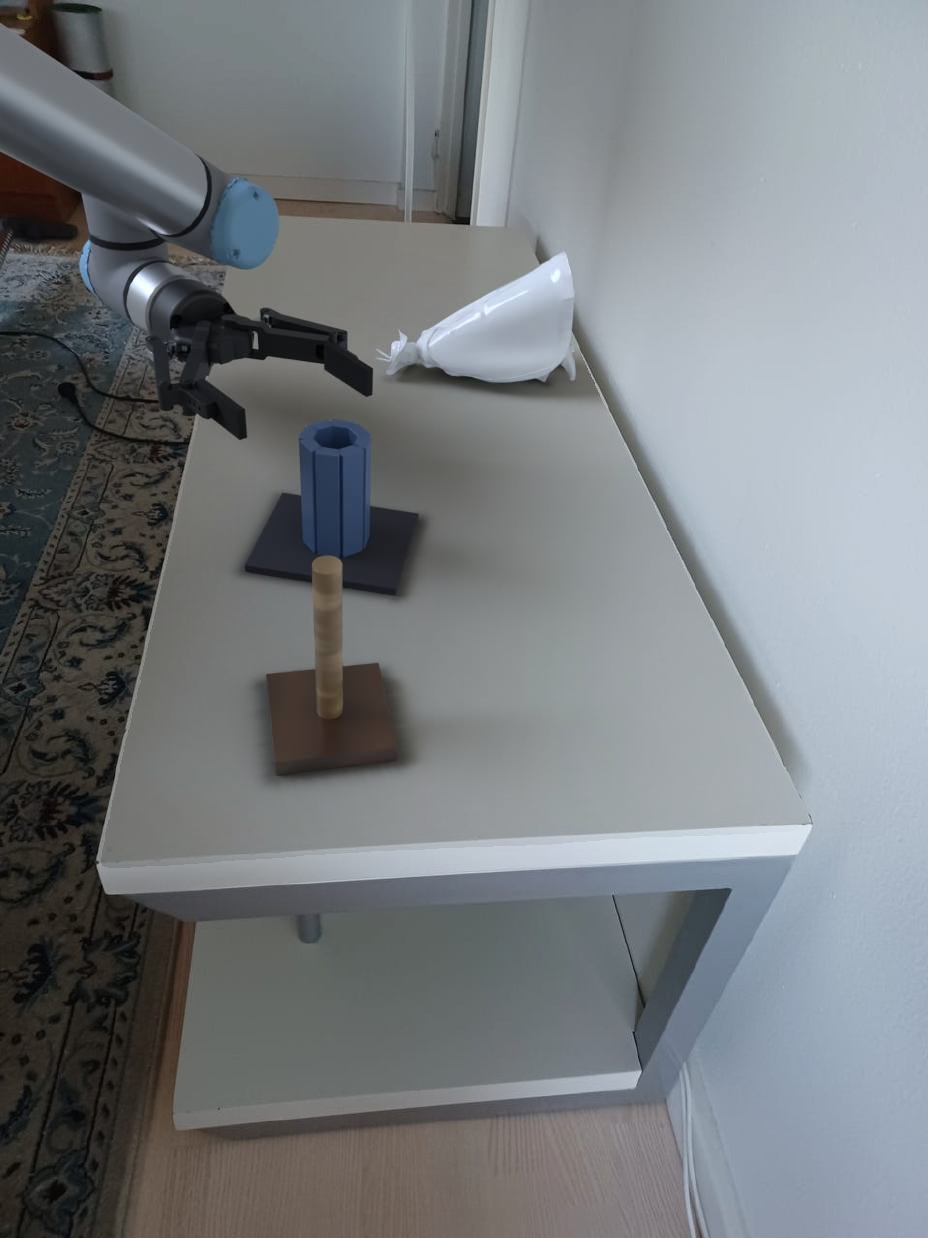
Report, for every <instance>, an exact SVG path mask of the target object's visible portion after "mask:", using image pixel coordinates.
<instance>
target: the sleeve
mask: <svg viewBox="0 0 928 1238" xmlns="http://www.w3.org/2000/svg"><path fill="white" fill-rule="evenodd" d="M371 435H372V434H371V433H370V432H369V431H367V430H366V429H365V428H364V427H363V426H362V425H361V424H359V423H356V422H355V421H349V420H344V419H343V420H342V419H335V418H332V419H331V420H330V419H328V418H327V419H323V420H319V421H316V422H312V423H309V424H307V426H304V428H303V429H302V432H301V433H300V435H299V437H298V452H299V453H298V455H299V477H300V479H299V480H300V495H301V506H302V531H303V542H304V543H305V544H306V545H307V546H308V547H309V548H310V549H311V550H312V551H313V552H314V553H316V552H318V555H323V556H325V555H329V556H334V557H337V558H340V555H341V556H342V557H343V558H344V557H347V556H350V555H352V554H355V553H358V552H361V551H362V549H365V547H366V544H367V541H368V539H369V533H370V506H371V485H372V484H371V483H372V482H371V479H372V439H373V437H372V436H371Z"/></svg>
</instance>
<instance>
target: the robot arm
mask: <svg viewBox="0 0 928 1238" xmlns="http://www.w3.org/2000/svg"><path fill="white" fill-rule="evenodd" d="M0 152H1V153H2V154H5V155H6V156H9V157H10V158H13V160H16V161H18V162H20V163H22V164H24V165H26V166H28V167H29V168H32V169H34V170H35V171H38V172H39V173H41V174H43V175H45V176H47V177H50V178H51V179H53V180H54V181H57V182H59V183H61V184H63V185H64V186H66V187H69V188H70V189H73V190H75V191H76V192H79V193H81V199H82V203H83V208H84V213H85V218H86V222H87V227H88V230H87V231H88V240H86V242H85V244H84V245H83V247H82V251H81V255H80V259H79V263H78V265H79V271H80V276H81V279H82V281H83V284H85V286H86V288H87V289H88V290H89V291H90V293H92V294H93V295H95V296H96V298H97V299H98V300H99V301H100V302H101V304H103V305H104V307H106V308H107V309H109V310H111V311H112V312H114V313H116V314H118V315H119V316H120V317H122V318H123V319H124V320H126V321H128V322H129V323H130V324H132V325H133V326H134V327H136V328H137V329H138V330H139V331H141V332H142V333H144V334H145V335H147V336H146V337H144V342H145V350H146V357H147V361H148V362H147V363H148V365H149V366H150V367H151V368H152V369H153V370H154V377H155V378H154V379H155V384H156V385H155V387H156V392H157V393H156V394H157V399H158V407H159V410H160V411H163V412H171V411H173V410H174V408H175V406H178V405H179V406H181V408H182V414H183V415H184V416H185V417H194V416H196V415H198V416H200V417H201V418H202V419H205V420H213V421H214V422H215V423H217V424H218V425H219V426H221V427H222V428H223V429H225V430H226V431H227V432H228V433H229V434H231V435H232V436H234V437H235V438H236V439H237V440H239V441H242V440H244V439H247V438H248V430H247V429H248V428H247V415H246V409H245V408H244V407H243V406H242V405H240V404H239V403H237V402H236V401H235V400H234V399H232V398H231V397H230V396H228V395H227V394H225V393H224V392H223V391H222V390H220V389H219V388H218V387H216V386H215V385H214V384H212V383H211V382H210V381H208V380H207V379H206V378H207V377H209V376H210V375H211V371H212V367H214V365H225V364H228V363H232V361H237V360H243V359H251V360H257V361H265V360H266V359H267V358H268V357H270V358H276V359H284V360H289V361H297V362H298V361H299V362H305V363H313V364H320V365H323V370H324V371H325V372H327V373H328V374H330V375H331V376H333V377H334V378H336V379H338V380H339V381H340V382H342V383H344V384H345V385H347V386H348V387H350V388H351V389H352V390H354V391H356V392H358V394H361V395H362V396H364V397H365V398H369V397H371V396H373V393H374V392H373V391H374V390H373V387H374V385H373V384H374V368H373V367H372V366H370V365H369V364H368V363H365V362H364V361H362V360H361V359H359V357H358V355H356V354H355V353H353V352H352V351H350V350H349V349H348V347H349V346H348V345H349V343H348V342H349V341H348V340H349V339H348V338H349V337H348V336H349V335H348V331H347V330H345V329H341V328H338V327H335V326H330V325H326V324H322V323H318V322H314V321H310V320H307V319H302V318H298V317H295V316H291V315H287V314H283V313H281V312H279V311H276V310H274V309H273V308H270V307H261V308H259V316H258V317H256V318H253V319H251V318H249V317H247V316H245V315H243V316H242V315H240V314H238V313H237V312H236V311H235V310H234V309H233V307H232V305H231V304H230V302H229V301H228V300H227V299H226V297H224V295H222V294H221V293H219V292H218V291H216V290H214V289H213V288H211V287H210V286H208V285H207V284H205V283H204V282H203V281H200V279H198V278H197V277H195V276H194V275H192V274H191V273H189V272H187V271H186V270H184V269H182V268H181V267H179V266H177V265H176V264H175V263H173V262H172V261H170V257H169V256H170V255H169V248H168V247H169V246H168V244H169V243H170V244H173V245H175V246H177V247H180V248H182V249H185V250H187V251H190V252H193V253H195V254H197V255H199V256H202V257H204V258H206V259H209V260H211V261H214V262H216V263H218V264H219V265H222V266H229V267H232V268H235V269H238V270H242V271H243V270H244V271H248V270H252V269H255V268H258V267H260V266H261V265H263V264H264V263H265V262H266V261H267V260H268V258H269V257H270V256H271V254H272V253H273V251H274V249H275V245H276V242H277V238H278V237H279V234H280V233H279V232H280V214H279V210H278V206H277V204H276V201H275V199H274V198H273V195H271V193H269V191H268V190H266V189H265V188H264V187H262V186H260V185H257V184H255V183H254V182H253V183H252V182H251V181H249V180H248V179H247V178H246V177H242V176H239V177H236V176H234V175H231V174H230V173H227V172H225V171H223V170H222V169H220V168H218V167H217V166H216V165H214V164H212V163H211V162H210V161H208V160H206V159H205V158H204V157H202V156H200V155H198V154H196V153H195V152H193V151H192V150H191V149H190V148H189V147H187V146H185V145H184V144H182V143H181V142H180V141H178V140H176V139H175V138H173V137H172V136H170V135H169V134H167V133H166V132H164V131H163V130H161V129H160V128H159V127H157V126H155V125H154V124H153V123H151V122H149V120H148V119H147V118H145V116H143V115H140V114H137V113H136V112H134V111H133V110H131V109H130V108H129V107H127V106H125V105H124V104H122V103H121V102H119V101H118V100H116V99H115V98H114V97H112V96H111V95H109V94H107V93H106V92H105V91H103V90H101V89H100V88H98V87H97V86H96V85H94V84H93V83H91V82H89V80H87V79H85V78H84V77H81V76H80V75H79V74H77V72H74V71H73V70H72V69H70V68H68V66H65V65H64V64H63V63H61V62H60V61H58V60H56V59H55V58H54V57H52V56H50V55H49V54H47V52H45V51H44V50H42V49H40V48H38V47H37V46H36V45H34V44H33V43H31V42H29V41H28V40H26V39H25V38H23V37H22V36H21V35H19V34H17V33H16V32H14V31H13V30H11V29H10V28H9V27H7V26H6V25H4V24H2V23H1V22H0ZM255 334H256V335H257V348H254V343H255ZM174 357H176V358H177V359H178V360H180V361H181V362H183V363H185V364H184V366H183V369H182V371H181V374H180V376H179V378H178V382H175V383H172V379H171V371H170V367H171V366H172V361H173V360H174Z"/></svg>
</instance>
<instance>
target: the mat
mask: <svg viewBox="0 0 928 1238" xmlns="http://www.w3.org/2000/svg"><path fill="white" fill-rule="evenodd" d="M419 517H420V513H419V512H411V511H405V510H398V509H392V508H386V507H379V506H372V505H370V533H369V539H368V541H367V544H366V547H365V549H362V551H361V552H358V553H355V554H352V555H350V556H347V557H344V558H343V557H342V556H341V555H340V558H338V559H339V560H340V561H341V562H342V584H343V588H348V589H355V590H361V591H366V592H372V593H380V594H386V595H393V596H396V595H397V591H398V588H399V584H400V581H401V578H402V574H403V572H404V568H405V565H406V562H407V558H408V555H409V552H410V548H411V547H412V546H411V545H412V543H413V538H414V535H415V532H416V529H417V526H418V522H419V519H420V518H419ZM320 556H323V555H318V552H316V553H314V552H313V551H312V550H311V549H310V548H309V547H308V546H307V545H306V544H305V543H304V542H303V531H302V506H301V494H294V493H288V492H281V494H280V496H279V498H278V500H277V502H276V504H275V506H274V508H273V510H272V512H271V513H270V515H269V517H268V519H267V521H266V523H265V524H264V527H263V529H262V531H261V532H260V535H259V536H258V538H257V541H256V542H255V544H254V546H253V548H252V550H251V552H250V554H249V556H248V558H247V560H246V561H245V563H244V571H245V572H248V573H254V574H259V575H266V576H272V577H279V578H285V579H292V580H298V581H303V582H311V583H312V563H313V561H314V560H315V559H316V558H318V557H320Z"/></svg>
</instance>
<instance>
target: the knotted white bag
mask: <svg viewBox="0 0 928 1238" xmlns="http://www.w3.org/2000/svg"><path fill="white" fill-rule="evenodd" d="M576 291H577V290H576V287H575V283H574V279H573V275H572V270H571V267H570V263H569V259H568V254H567V253H566V252H565V251H561V252H560V253H558V254H556V255H554V256H552V257H551V258H550V259H548V260H547V261H544V262H542V263H541V264H540V265H539V266H537V267H535V268H534V269H531V270H530V271H528V272H526V273H524V274H523V275H520V276H519V277H517V278H515V279H513V280H511V281H509V282H508V283H505V284H503V285H502V286H500V287H498V288H496V289H494V290H492V291H491V292H489V293H487V294H485V295H483V296H482V297H480V298H478V299H477V300H474V301H473V302H471V303H469V304H467V305H466V306H464V307H461V308H460V309H459V310H456V311H455V312H453V313H452V314H450V315H449V316H447V317H446V318H444V319H442V320H441V321H439V322H438V323H436V324H434V325H433V326H431V327H430V328H428V329H425V330H423V331H422V332H421V335H420V336H419V337H418V339H417V340H416V342H415V341H408V336H407V335H406V334H404V333H402V332H401V330H400V329H398V334H399V340H397V339H396V340H394V341H392V342H391V345H390V346H391V347H390V355H388V354H386V353H385V352H383V351H382V350H380V349H379V348H375V351H377V352H378V353H379V354H380V355H382V356H384V357H385V358H383V357H376V358H375V360H377V361H381V362H387V363H389V362H390V363H391V364H390V365H389V367H388V368H387V369H386V371H385V374H386V375H388V376H391V375H392V376H393V375H394V374H395V373H397V372H398V371H399V370H401V369H402V368H404V367H405V366H408V365H409V366H411V365H414V364H415V363H416V364H417V363H418V362H419V361H421V363H422V365H423V367H425V368H427V369H430V368H439V369H441V370H443V371H444V373H445V374H448V375H449V376H452V377H470V378H471V377H472V378H474V379H478V380H480V381H484V382H488V383H514V382H523V381H528V380H529V381H530V380H533V379H535V380H537V381H539V382H543V383H546V381H547V379H548V377H549V376H550V373H551V372H552V371H554V370H555V369H556V368H557V367H559V365H560V366H561V367H563V369H564V370H565V371H566V373H567V374H568V378H569V381H572V382H575V380H576V377H577V376H576V374H577V373H576V372H577V371H576V362H575V357H574V356H573V354H574V353H575V351H576V350H575V345H574V344H570V343H571V339H572V330H573V321H574V320H573V319H574V309H575V301H576V295H577V292H576Z"/></svg>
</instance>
